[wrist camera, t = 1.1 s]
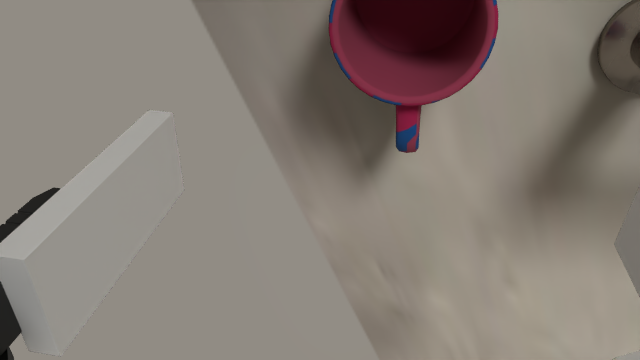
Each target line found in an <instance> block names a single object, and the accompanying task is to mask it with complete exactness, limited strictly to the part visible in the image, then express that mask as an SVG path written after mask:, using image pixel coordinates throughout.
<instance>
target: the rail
mask: <svg viewBox="0 0 640 360" xmlns="http://www.w3.org/2000/svg"><path fill="white" fill-rule="evenodd" d="M598 60H599V64H600V67H601V69H602V71H603V72H604V74H605V75H606V76H607V77H608V79H609V80H610V81H611V82H612V83H613V84H614V85H616V86H617V87H619V88H620V89H623V90H625V91H628V92H632V93H638V94H640V0H632V1H631V2H629V3H627V4H626V5H625V6H623V7H622V8H621V9H620V10H619V11H618V12H616V13H615V15H614V16H613V17H612V18H611V19H610V20H609V22H608V23H607V25H606V26H605V28H604V30H603V32H602V34H601V37H600V40H599V44H598Z"/></svg>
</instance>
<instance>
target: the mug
mask: <svg viewBox="0 0 640 360" xmlns="http://www.w3.org/2000/svg"><path fill="white" fill-rule="evenodd" d="M497 30H498V8H497V1H496V0H333V1H332V5H331V10H330V15H329V35H330V43H331V47H332V50H333V53H334V56H335V58H336V60H337V62H338V64H339V66H340V68H341V70H342V71H343V72H344V74H345V75H346V76H347V77H348V79H349V80H350V81H351V82H352V83H353V84H354V85H355V86H356V87H358V88H359V89H360V90H362V91H363V92H365V93H366V94H368V95H369V96H371V97H373V98H375V99H378V100H380V101H382V102H386V103H390V104H394V105H396V148H397V149H398V150H399V151H401V152H406V153H409V152H416V150H417V149H418V146H419V127H420V114H421V105H425V104H429V103H434V102H437V101H440V100H442V99H445V98H447V97H449V96H451V95H453V94H454V93H456V92H458V91H459V90H461V89H462V88H463V87H464V86H466V85H467V84H468V83H469V82H471V81H472V80H473V78H474V77H475V76H476V75H477V74H478V73H479V72H480V70H481V69H482V68H483V66H484V64H485V63H486V61H487V59H488V58H489V56H490V53H491V51H492V48H493V46H494V43H495V39H496V34H497Z"/></svg>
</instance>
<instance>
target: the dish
mask: <svg viewBox="0 0 640 360" xmlns="http://www.w3.org/2000/svg"><path fill="white" fill-rule="evenodd" d="M612 360H640V350H639V351H635V352H632V353H629V354H626V355H622V356H619V357H616V358H614V359H612Z"/></svg>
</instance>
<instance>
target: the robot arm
mask: <svg viewBox="0 0 640 360" xmlns="http://www.w3.org/2000/svg"><path fill="white" fill-rule="evenodd" d="M183 191H184V184H183V177H182V171H181V163H180V156H179V150H178V143H177V136H176V129H175V122H174V115H173V112H163V111H154V110H148V111H147V112H146V113H145V114H144V115H143V116H142V117H140V118H139V119H138V120H137V121H136V122H135V123H134V124H133V125H132V126H130V127H129V128H128V129H127V130H126V131H125V132H124V133H123V134H121V135H120V136H119V137H118V138H117V139H116V140H115V141H114V142H113V143H111V144H110V145H109V146H108V147H107V148H106V149H105V150H104V151H102V152H101V153H100V154H99V155H98V156H97V157H96V158H95V159H94V160H92V161H91V162H90V163H89V164H88V165H87V166H86V167H85V168H84V169H83V170H81V171H80V172H79V173H78V174H77V175H76V176H75V177H73V178H72V179H71V180H70V181H69V182H68V183H67V184H66V185H64V186H63V187H62V188H52V189H50V190H48V191H46V192H44V193H42V194H40V195H38V196H36V197H34V198H32V199H31V200H30V201H29V202H28V203H26V204H25V205H24V206H23V207H22V208H21V209H19V210H18V213H15V214H14V215H12V217H10V218H9V219H8V220H7V221H6V224H2V225H1V226H0V360H14V357H13V355H12V352H11V350H10V348H9V346H10V345H11V344H12V342H13V341H14V340H15V339H16V338H17V336H18V335H19V334H20V333H21V334H22V336H23V338H24V341H25V343H26V345H27V348H28V350H29V351H32V352H37V353H43V354H49V355H54V356H60V357H61V356H62V355H63V353H64V352H65V351H66V349H67V348H68V347H69V345H70V344H71V343H72V341H73V340H74V339H75V337H76V336H77V334H78V333H79V332H80V330H81V329H82V327H83V326H84V325H85V324H86V322H87V321H88V320H89V318H90V317H91V315H92V314H93V313H94V311H95V310H96V309H97V307H98V306H99V305H100V303H101V302H102V301H103V299H104V298H105V297H106V295H107V294H108V293H109V291H110V290H111V289H112V287H113V286H114V284H115V283H116V282H117V280H118V279H119V278H120V276H121V275H122V273H123V272H124V271H125V269H126V268H127V267H128V266H129V264H130V263H131V262H132V260H133V259H134V257H135V256H136V255H137V253H138V252H139V251H140V249H141V248H142V247H143V245H144V244H145V243H146V241H147V240H148V239H149V237H150V236H151V234H152V233H153V232H154V230H155V229H156V227H157V226H158V225H159V223H160V222H161V221H162V220H163V218H164V217H165V215H166V214H167V213H168V211H169V210H170V209H171V207H172V206H173V205H174V203H175V202H176V201H177V199H178V198H179V197H180V195H181V194H182V193H183ZM614 245H615V247H616V249H617V251H618V253H619V255H620V258H621V260H622V262H623V264H624V266H625V268H626V270H627V272H628V274H629V276H630V278H631V280H632V282H633V285H634V287H635V289H636V291H637V293H638V295H639V297H640V186H639V188H638V190H637V193H636V195H635V197H634V199H633V202H632V204H631V206H630V209H629V211H628V213H627V216H626V218H625V220H624V222H623V225H622V227H621V229H620V232H619V234H618V236H617V239H616V241H615V243H614Z"/></svg>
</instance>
